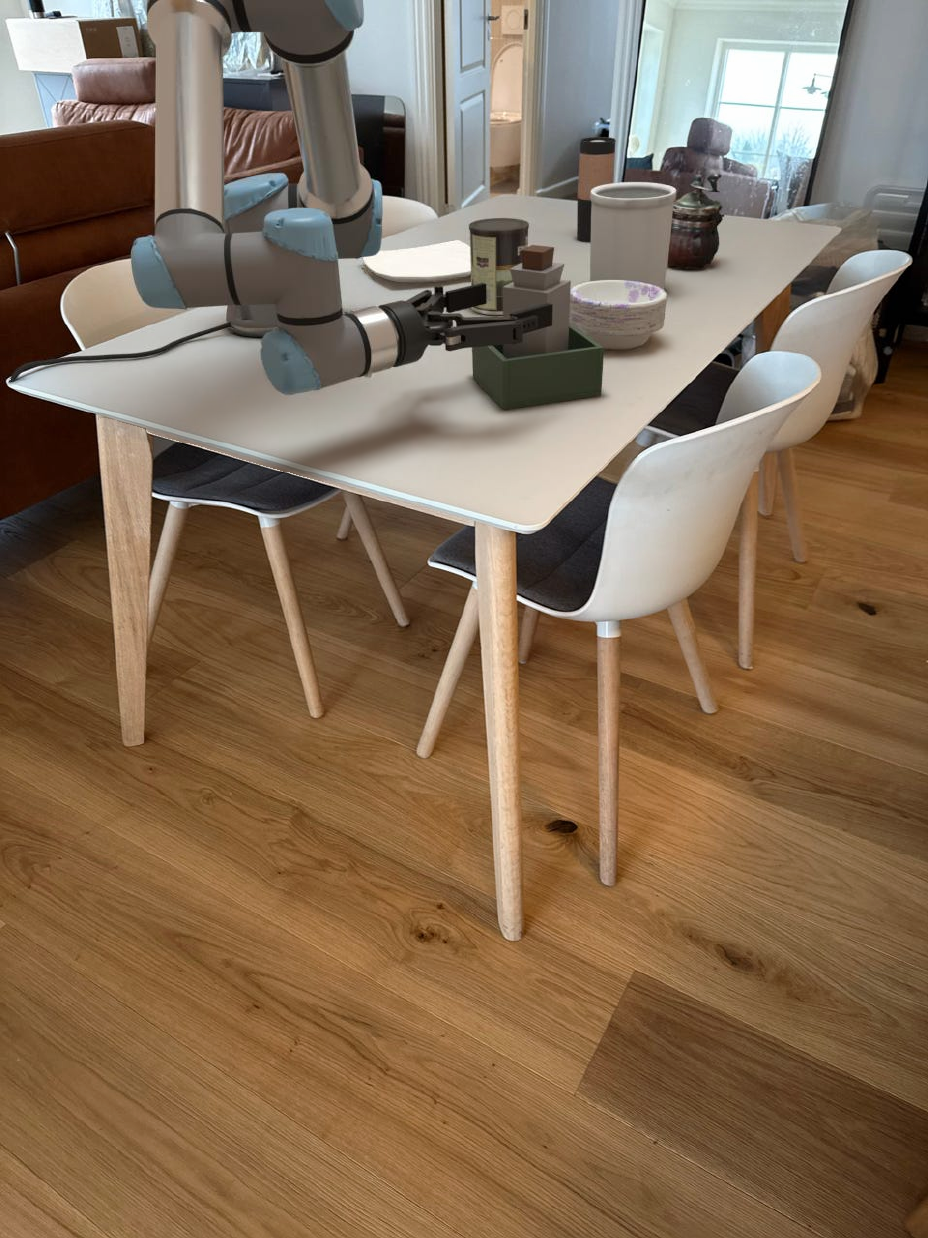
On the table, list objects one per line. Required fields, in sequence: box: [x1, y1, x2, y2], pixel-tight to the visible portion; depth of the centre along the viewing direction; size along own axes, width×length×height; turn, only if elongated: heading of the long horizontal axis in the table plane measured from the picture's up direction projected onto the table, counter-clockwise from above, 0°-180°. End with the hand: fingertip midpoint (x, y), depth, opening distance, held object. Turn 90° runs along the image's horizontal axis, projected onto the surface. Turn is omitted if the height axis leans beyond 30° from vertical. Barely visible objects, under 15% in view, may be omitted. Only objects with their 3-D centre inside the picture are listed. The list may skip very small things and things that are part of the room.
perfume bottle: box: [502, 244, 572, 359], centre depth 124 cm, size 7×7×18 cm
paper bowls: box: [569, 280, 668, 351], centre depth 143 cm, size 15×15×8 cm
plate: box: [361, 239, 471, 284], centre depth 184 cm, size 24×24×3 cm
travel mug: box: [576, 136, 617, 243], centre depth 198 cm, size 8×8×20 cm
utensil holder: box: [589, 181, 677, 291], centre depth 163 cm, size 15×15×18 cm
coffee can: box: [468, 217, 530, 316], centre depth 158 cm, size 10×10×14 cm
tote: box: [471, 322, 605, 411], centre depth 128 cm, size 15×14×7 cm
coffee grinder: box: [667, 173, 725, 270], centre depth 176 cm, size 13×15×18 cm
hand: (516, 303), depth 121 cm, fingers open, 13 cm apart
